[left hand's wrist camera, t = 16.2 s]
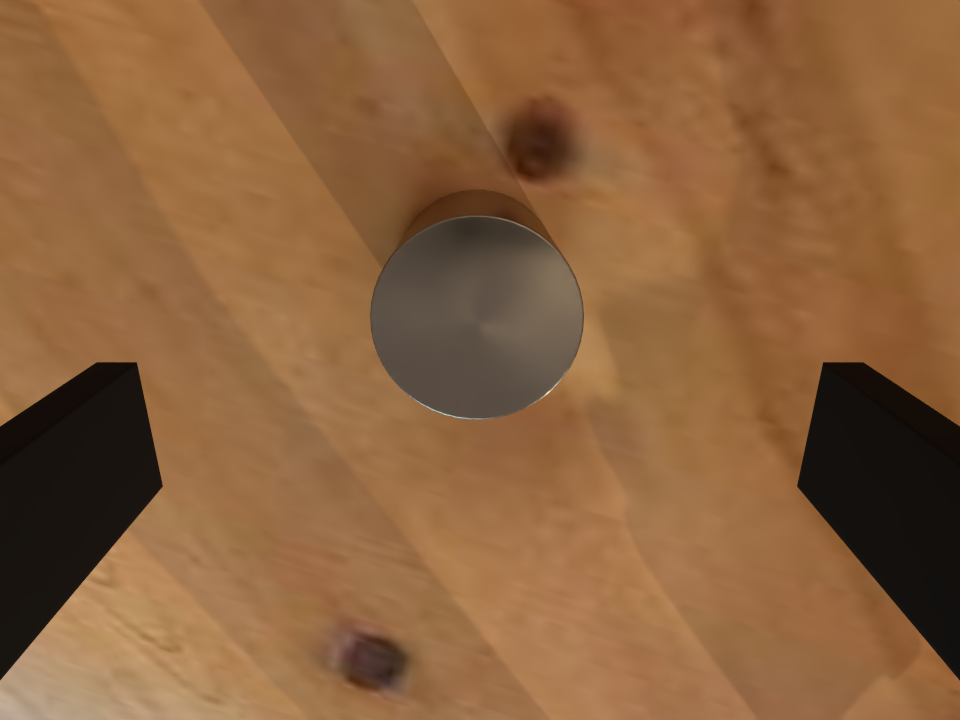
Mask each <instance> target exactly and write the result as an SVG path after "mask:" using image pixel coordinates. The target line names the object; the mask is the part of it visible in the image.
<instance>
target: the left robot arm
mask: <svg viewBox="0 0 960 720" xmlns="http://www.w3.org/2000/svg"><path fill="white" fill-rule="evenodd" d="M162 487H163V485H162V480H161V476H160V471H159V466H158V461H157V456H156V452H155V447H154V442H153V437H152V433H151V428H150V423H149V418H148V414H147V409H146V404H145V399H144V395H143V390H142V385H141V380H140V376H139V371H138V366H137V362H97V363H95V364H94V365H92V366H91V367H89V368H88V369H86V370H85V371H83V372H82V373H80V374H79V375H77V376H76V377H74V378H73V379H71V380H70V381H68V382H67V383H65V384H64V385H62V386H61V387H59V388H58V389H56V390H55V391H53V392H52V393H50V394H48V395H47V396H45V397H44V398H42V399H41V400H39V401H38V402H36V403H35V404H33V405H32V406H30V407H29V408H27V409H26V410H24V411H23V412H21V413H20V414H18V415H17V416H15V417H14V418H12V419H11V420H9V421H8V422H6V423H5V424H3V425H2V426H0V680H1V679H2V678H3V676H4V675H5V674H6V673H7V672H8V670H9V669H10V668H11V667H12V666H13V665H14V663H15V662H16V661H17V660H18V659H19V657H20V656H21V655H22V654H23V653H24V651H25V650H26V649H27V648H28V647H29V645H30V644H31V643H32V642H33V641H34V639H35V638H36V637H37V636H38V635H39V633H40V632H41V631H42V630H43V629H44V628H45V626H46V625H47V624H48V623H49V622H50V620H51V619H52V618H53V617H54V616H55V614H56V613H57V612H58V611H59V610H60V608H61V607H62V606H63V605H64V604H65V602H66V601H67V600H68V599H69V598H70V596H71V595H72V594H73V593H74V592H75V591H76V589H77V588H78V587H79V586H80V585H81V583H82V582H83V581H84V580H85V579H86V577H87V576H88V575H89V574H90V573H91V571H92V570H93V569H94V568H95V567H96V565H97V564H98V563H99V562H100V561H101V559H102V558H103V557H104V556H105V555H106V554H107V552H108V551H109V550H110V549H111V548H112V546H113V545H114V544H115V543H116V542H117V540H118V539H119V538H120V537H121V536H122V534H123V533H124V532H125V531H126V530H127V528H128V527H129V526H130V525H131V524H132V522H133V521H134V520H135V519H136V518H137V517H138V515H139V514H140V513H141V512H142V511H143V509H144V508H145V507H146V506H147V505H148V503H149V502H150V501H151V500H152V499H153V497H154V496H155V495H156V494H157V493H158V491H159V490H160V489H161V488H162ZM797 487H798V488H799V489H800V490H801V491H802V493H803V494H804V495H805V496H806V497H807V499H808V500H809V501H810V502H811V503H812V505H813V506H814V507H815V508H816V509H817V511H818V512H819V513H820V514H821V515H822V517H823V518H824V519H825V520H826V521H827V522H828V524H829V525H830V526H831V527H832V528H833V530H834V531H835V532H836V533H837V534H838V536H839V537H840V538H841V539H842V540H843V542H844V543H845V544H846V545H847V546H848V548H849V549H850V550H851V551H852V552H853V554H854V555H855V556H856V557H857V558H858V559H859V561H860V562H861V563H862V564H863V565H864V567H865V568H866V569H867V570H868V571H869V573H870V574H871V575H872V576H873V577H874V579H875V580H876V581H877V582H878V583H879V585H880V586H881V587H882V588H883V589H884V591H885V592H886V593H887V594H888V595H889V596H890V598H891V599H892V600H893V601H894V602H895V604H896V605H897V606H898V607H899V608H900V610H901V611H902V612H903V613H904V614H905V616H906V617H907V618H908V619H909V620H910V622H911V623H912V624H913V625H914V626H915V628H916V629H917V630H918V631H919V632H920V633H921V635H922V636H923V637H924V638H925V639H926V641H927V642H928V643H929V644H930V645H931V647H932V648H933V649H934V650H935V651H936V653H937V654H938V655H939V656H940V657H941V659H942V660H943V661H944V662H945V663H946V665H947V666H948V667H949V668H950V669H951V670H952V672H953V673H954V674H955V675H956V676H957V678H958V679H959V680H960V426H958V425H957V424H955V423H954V422H952V421H951V420H949V419H948V418H946V417H945V416H943V415H942V414H940V413H939V412H937V411H936V410H934V409H933V408H931V407H930V406H928V405H927V404H925V403H924V402H922V401H921V400H919V399H918V398H916V397H915V396H913V395H912V394H910V393H908V392H907V391H905V390H904V389H902V388H901V387H899V386H898V385H896V384H895V383H893V382H892V381H890V380H889V379H887V378H886V377H884V376H883V375H881V374H880V373H878V372H877V371H875V370H874V369H872V368H871V367H869V366H868V365H866V364H865V363H863V362H823V366H822V371H821V376H820V380H819V385H818V390H817V395H816V399H815V404H814V409H813V414H812V418H811V423H810V428H809V433H808V437H807V442H806V447H805V452H804V456H803V461H802V466H801V471H800V476H799V480H798V485H797Z"/></svg>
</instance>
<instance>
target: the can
mask: <svg viewBox="0 0 960 720" xmlns="http://www.w3.org/2000/svg"><path fill="white" fill-rule="evenodd" d="M370 319H371V331H372V336H373V341H374V345H375V348H376V351H377V354H378V356H379V358H380V360H381V362H382V364H383V366H384V368H385V369H386V371H387V372H388V374H389V375H390V377H391V378H392V379H393V380H394V381H395V383H396V384H397V385H398V386H399V387H400V388H401V389H402V390H403V391H404V392H405V393H407V394H408V395H409V396H410V397H411V398H413V399H414V400H416V401H417V402H419V403H420V404H422V405H424V406H426V407H428V408H430V409H432V410H434V411H437V412H439V413H442V414H445V415H449V416H453V417H457V418H465V419H490V418H497V417H501V416H506V415H510V414H512V413H515V412H518V411H520V410H523V409H525V408H527V407H528V406H530V405H532V404H534V403H536V402H537V401H538V400H540V399H541V398H543V397H544V396H545V395H547V394H548V393H549V392H550V391H551V390H552V389H553V388H554V387H555V386H556V385H557V384H558V383H559V382H560V381H561V379H562V378H563V377H564V375H565V374H566V373H567V371H568V370H569V368H570V366H571V364H572V362H573V360H574V358H575V356H576V354H577V351H578V348H579V345H580V342H581V337H582V332H583V322H584V311H583V301H582V296H581V292H580V288H579V285H578V283H577V280H576V277H575V275H574V273H573V271H572V269H571V268H570V266H569V264H568V262H567V261H566V259H565V258H564V256H563V255H562V253H561V252H560V250H559V249H558V247H557V246H556V244H555V242H554V241H553V239H552V238H551V236H550V235H549V233H548V232H547V230H546V229H545V227H544V226H543V224H542V223H541V222H540V220H539V219H538V218H537V217H536V216H535V215H534V214H533V212H532V211H531V210H529V209H528V208H527V207H526V206H524V205H523V204H521V203H520V202H518V201H516V200H515V199H513V198H511V197H508V196H506V195H504V194H500V193H497V192H493V191H485V190H468V191H461V192H457V193H454V194H450V195H448V196H445V197H443V198H441V199H439V200H437V201H436V202H434V203H432V204H431V205H430V206H428V207H427V208H426V209H425V210H423V211H422V212H421V213H420V214H419V215H418V216H417V218H416V219H415V220H414V221H413V223H412V224H411V226H410V227H409V228H408V230H407V232H406V233H405V235H404V236H403V238H402V239H401V241H400V242H399V244H398V246H397V247H396V249H395V250H394V252H393V253H392V255H391V256H390V258H389V260H388V261H387V263H386V264H385V266H384V268H383V270H382V272H381V274H380V275H379V278H378V281H377V283H376V286H375V289H374V293H373V297H372V302H371V314H370Z"/></svg>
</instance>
